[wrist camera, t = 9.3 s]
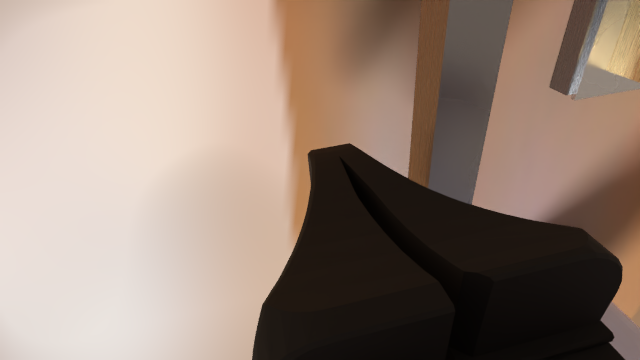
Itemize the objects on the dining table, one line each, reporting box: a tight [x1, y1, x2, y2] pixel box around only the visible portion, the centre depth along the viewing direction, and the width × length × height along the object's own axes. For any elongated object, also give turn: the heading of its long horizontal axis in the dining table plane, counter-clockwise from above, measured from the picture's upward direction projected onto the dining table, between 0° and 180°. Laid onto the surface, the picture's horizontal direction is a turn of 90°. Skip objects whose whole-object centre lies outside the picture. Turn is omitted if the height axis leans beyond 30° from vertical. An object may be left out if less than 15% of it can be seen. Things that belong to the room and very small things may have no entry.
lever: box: [408, 0, 513, 204], centre depth 9 cm, size 13×3×2 cm, turn 4°
